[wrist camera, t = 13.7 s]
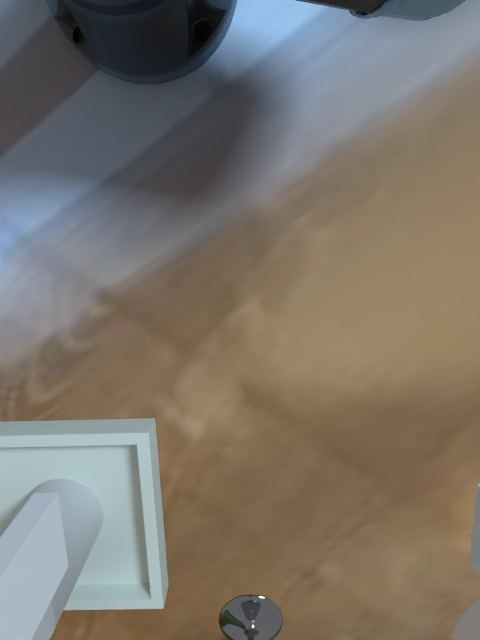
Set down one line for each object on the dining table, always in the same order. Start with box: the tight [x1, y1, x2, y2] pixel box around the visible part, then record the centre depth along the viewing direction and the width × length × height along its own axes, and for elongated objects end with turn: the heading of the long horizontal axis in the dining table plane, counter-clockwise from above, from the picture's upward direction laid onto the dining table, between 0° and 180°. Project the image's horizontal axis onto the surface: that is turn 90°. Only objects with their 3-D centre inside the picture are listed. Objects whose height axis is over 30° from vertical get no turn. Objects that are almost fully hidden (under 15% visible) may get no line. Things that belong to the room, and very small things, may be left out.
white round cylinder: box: [0, 479, 104, 640], centre depth 40 cm, size 8×8×12 cm
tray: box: [0, 418, 168, 610], centre depth 45 cm, size 20×20×3 cm
